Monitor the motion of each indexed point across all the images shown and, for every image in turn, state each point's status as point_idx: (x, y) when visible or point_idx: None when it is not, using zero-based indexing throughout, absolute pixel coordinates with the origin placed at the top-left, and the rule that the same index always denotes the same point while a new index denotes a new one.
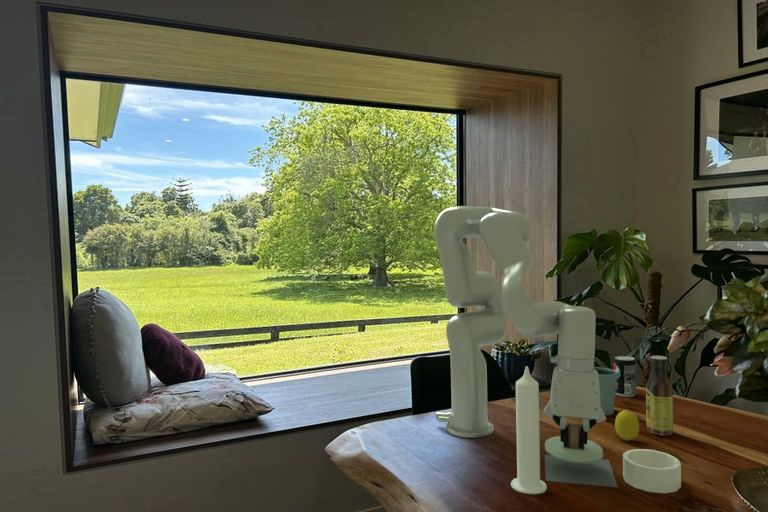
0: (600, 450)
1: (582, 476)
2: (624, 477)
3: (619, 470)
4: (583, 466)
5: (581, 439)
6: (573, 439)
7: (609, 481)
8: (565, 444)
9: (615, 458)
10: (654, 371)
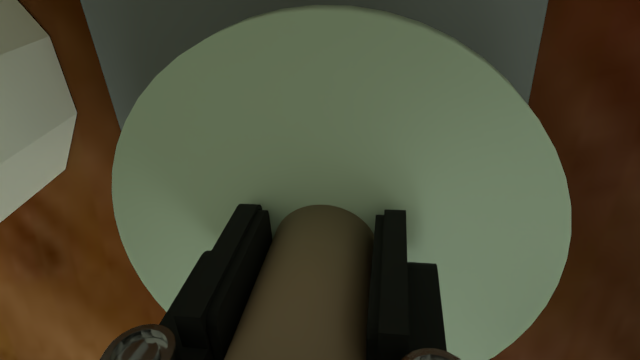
0: (132, 226)
1: None
2: (43, 69)
3: (111, 195)
4: None
5: (236, 259)
6: (314, 259)
7: (123, 12)
8: (393, 221)
9: (150, 310)
10: None
